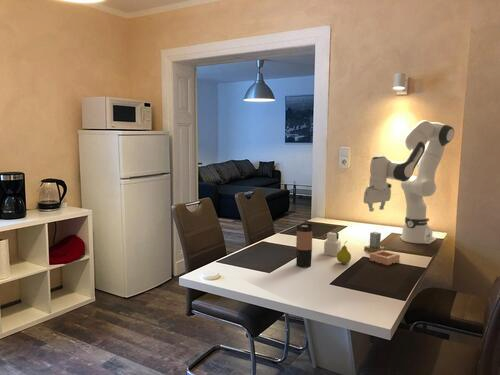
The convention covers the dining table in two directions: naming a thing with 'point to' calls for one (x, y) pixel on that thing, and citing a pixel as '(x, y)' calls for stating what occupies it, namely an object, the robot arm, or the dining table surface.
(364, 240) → the dining table surface
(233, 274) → the dining table surface
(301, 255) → the travel mug
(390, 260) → the terracotta socket
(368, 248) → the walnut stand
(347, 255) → the fruit
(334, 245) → the medicine bottle
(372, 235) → the metal peg
